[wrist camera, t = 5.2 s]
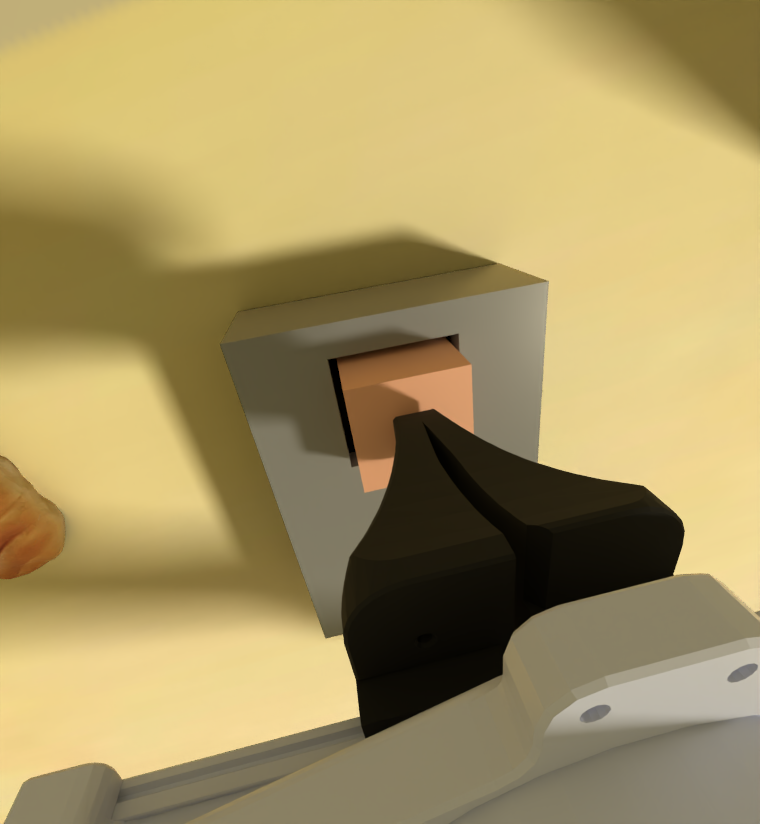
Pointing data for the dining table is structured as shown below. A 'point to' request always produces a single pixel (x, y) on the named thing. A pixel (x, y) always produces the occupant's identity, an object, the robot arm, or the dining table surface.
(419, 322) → the block
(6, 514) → the pastry
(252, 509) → the dining table surface
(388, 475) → the button
